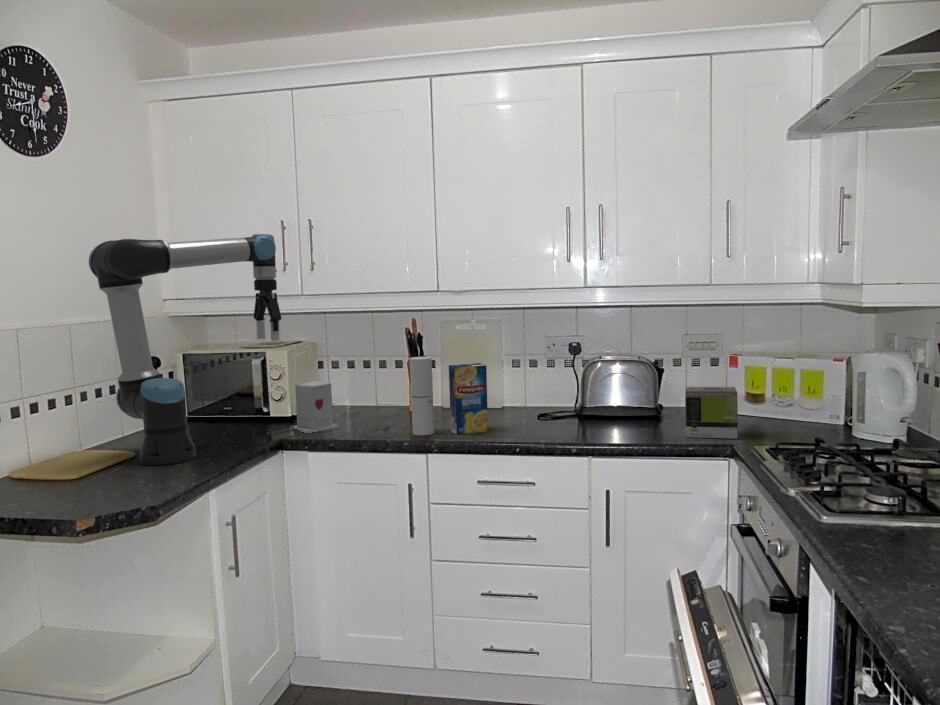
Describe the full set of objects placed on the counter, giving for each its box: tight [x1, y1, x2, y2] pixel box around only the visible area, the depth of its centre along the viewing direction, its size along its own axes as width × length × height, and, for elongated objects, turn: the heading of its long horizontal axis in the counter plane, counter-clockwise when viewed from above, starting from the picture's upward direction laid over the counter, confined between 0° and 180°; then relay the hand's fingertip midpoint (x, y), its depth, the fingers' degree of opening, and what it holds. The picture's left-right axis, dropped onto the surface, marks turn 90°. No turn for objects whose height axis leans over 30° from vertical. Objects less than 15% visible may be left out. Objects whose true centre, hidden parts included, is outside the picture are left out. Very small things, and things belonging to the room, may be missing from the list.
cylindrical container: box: [409, 356, 435, 436], centre depth 224 cm, size 7×7×25 cm
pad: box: [292, 423, 339, 434], centre depth 237 cm, size 12×11×1 cm
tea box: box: [684, 386, 739, 440], centre depth 210 cm, size 15×10×15 cm, turn 72°
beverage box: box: [448, 362, 489, 436], centre depth 225 cm, size 7×11×22 cm, turn 109°
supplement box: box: [294, 380, 334, 429], centre depth 236 cm, size 9×9×15 cm
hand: (268, 339), depth 239 cm, fingers open, 13 cm apart
